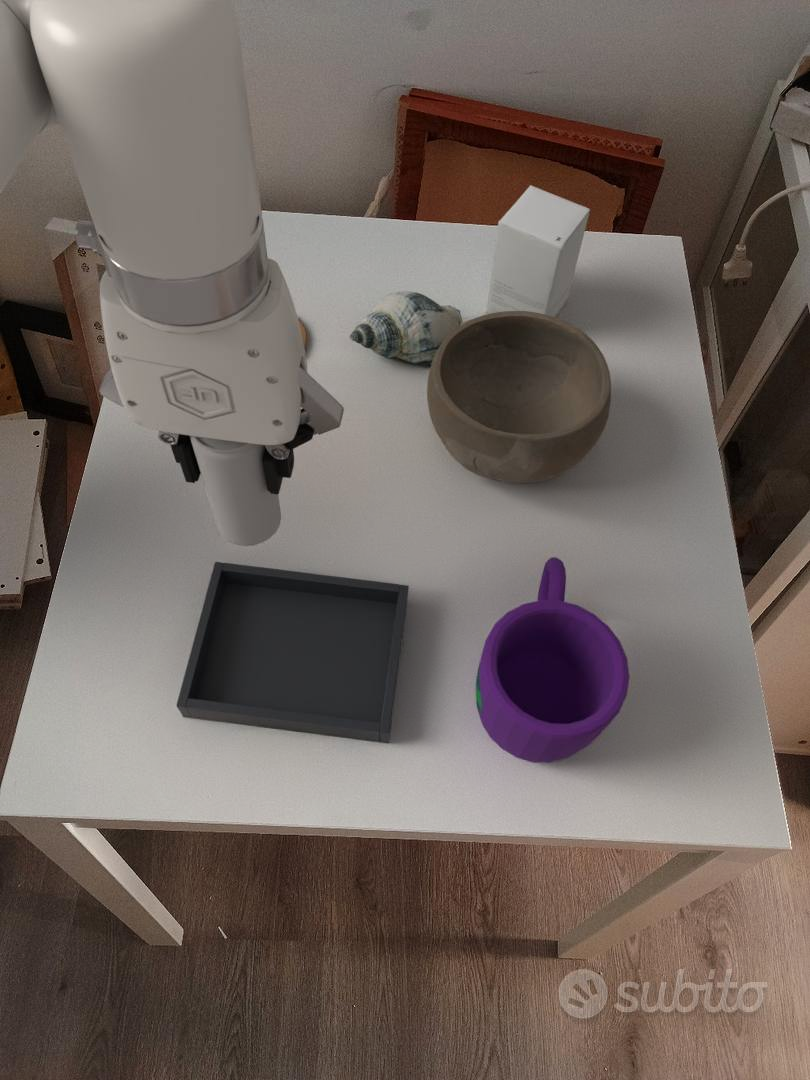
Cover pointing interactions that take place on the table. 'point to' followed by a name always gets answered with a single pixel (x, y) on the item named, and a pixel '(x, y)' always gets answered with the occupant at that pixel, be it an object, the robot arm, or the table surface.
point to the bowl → (518, 395)
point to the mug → (550, 675)
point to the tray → (296, 652)
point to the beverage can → (237, 490)
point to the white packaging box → (536, 253)
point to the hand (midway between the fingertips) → (237, 469)
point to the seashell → (407, 327)
